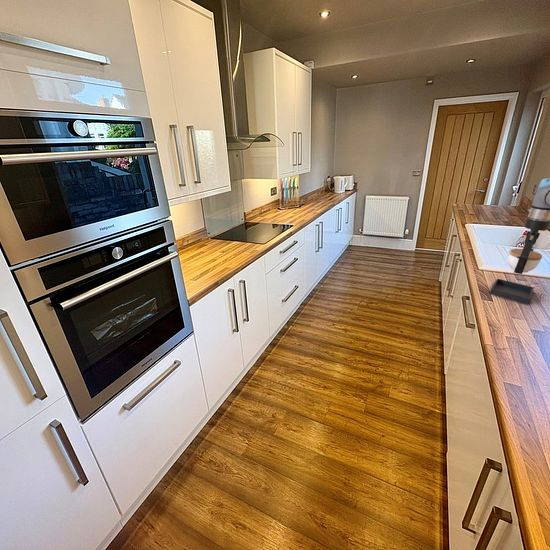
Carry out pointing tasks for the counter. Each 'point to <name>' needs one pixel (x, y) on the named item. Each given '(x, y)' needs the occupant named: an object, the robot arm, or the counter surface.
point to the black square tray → (512, 291)
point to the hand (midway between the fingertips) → (519, 268)
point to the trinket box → (531, 262)
